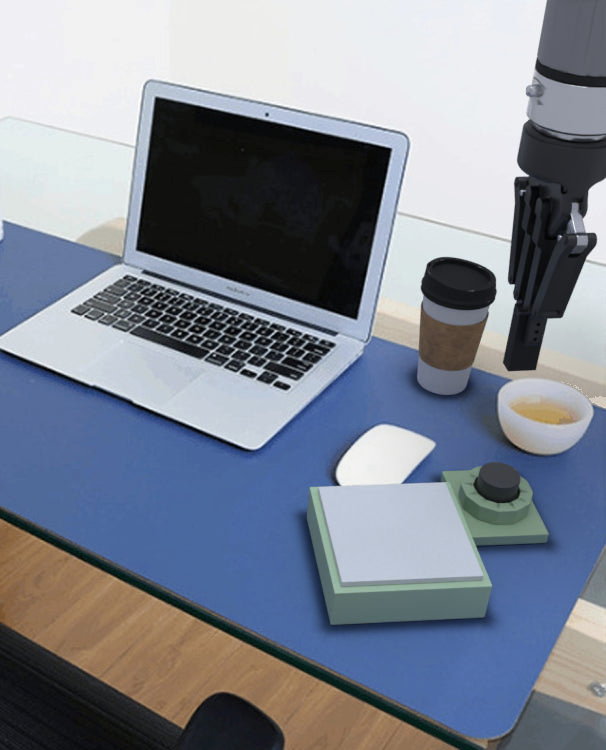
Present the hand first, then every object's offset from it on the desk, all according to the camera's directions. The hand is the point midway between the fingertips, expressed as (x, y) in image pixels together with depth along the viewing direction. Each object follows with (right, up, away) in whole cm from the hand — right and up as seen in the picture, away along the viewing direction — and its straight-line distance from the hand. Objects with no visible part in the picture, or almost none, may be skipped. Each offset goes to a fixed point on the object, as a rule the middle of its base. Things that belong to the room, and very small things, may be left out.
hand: (519, 366), depth 95 cm
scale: (-12, -19, 0) cm, 22 cm away
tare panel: (-1, -15, +7) cm, 16 cm away
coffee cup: (-2, -2, +26) cm, 26 cm away
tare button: (-1, -12, +6) cm, 14 cm away
